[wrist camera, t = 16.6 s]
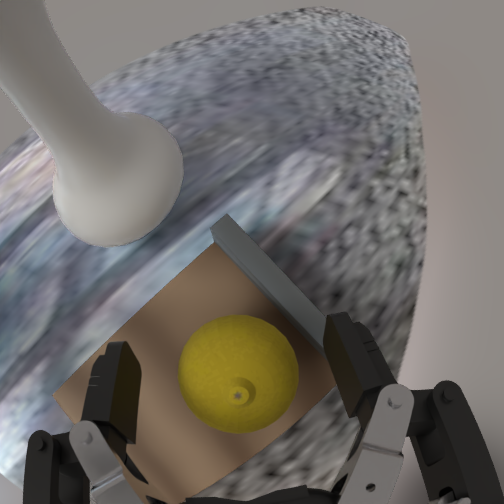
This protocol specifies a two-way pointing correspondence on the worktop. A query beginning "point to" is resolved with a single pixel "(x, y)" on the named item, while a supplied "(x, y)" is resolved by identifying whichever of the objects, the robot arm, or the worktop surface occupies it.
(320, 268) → the worktop surface
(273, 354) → the lemon
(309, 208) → the worktop surface
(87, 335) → the worktop surface
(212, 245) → the stop board
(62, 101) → the flower vase
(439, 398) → the robot arm
